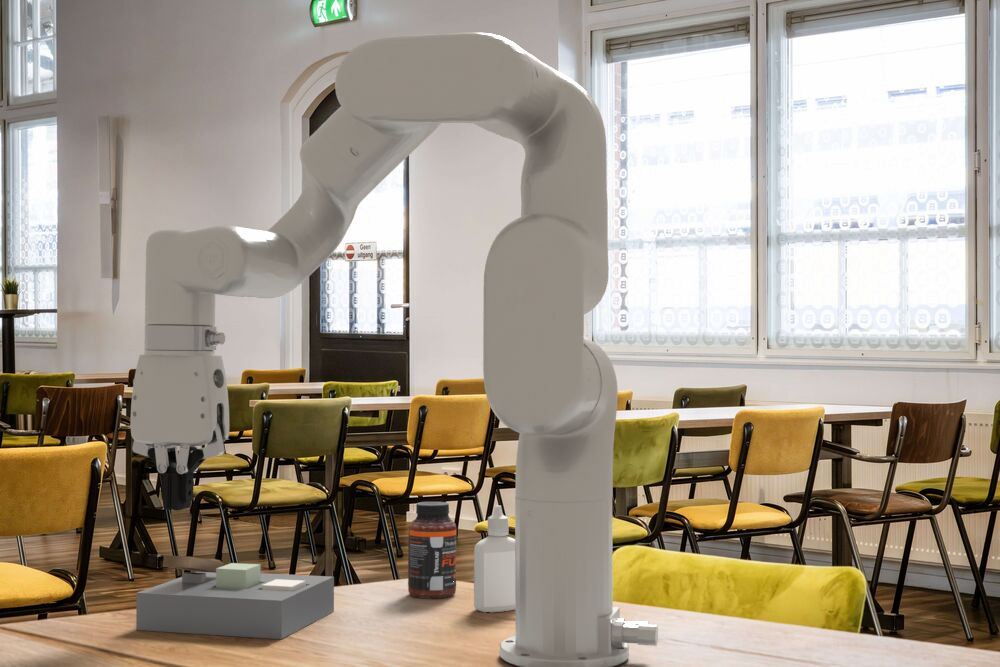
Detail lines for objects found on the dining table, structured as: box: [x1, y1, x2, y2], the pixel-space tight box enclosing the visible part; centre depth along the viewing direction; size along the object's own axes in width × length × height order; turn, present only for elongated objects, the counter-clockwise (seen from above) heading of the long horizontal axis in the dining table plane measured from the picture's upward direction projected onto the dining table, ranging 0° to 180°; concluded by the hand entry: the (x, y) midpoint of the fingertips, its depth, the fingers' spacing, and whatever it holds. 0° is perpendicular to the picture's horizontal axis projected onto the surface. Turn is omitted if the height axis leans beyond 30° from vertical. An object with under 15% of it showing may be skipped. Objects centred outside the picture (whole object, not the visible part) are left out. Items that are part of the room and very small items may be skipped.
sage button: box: [216, 562, 262, 589], centre depth 136 cm, size 4×4×3 cm
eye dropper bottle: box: [473, 504, 515, 613], centre depth 141 cm, size 4×6×12 cm
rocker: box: [162, 554, 225, 573], centre depth 137 cm, size 3×8×1 cm, turn 165°
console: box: [135, 571, 335, 640], centre depth 136 cm, size 17×14×5 cm
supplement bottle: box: [407, 501, 457, 599], centre depth 150 cm, size 6×6×11 cm
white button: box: [262, 579, 306, 592], centre depth 134 cm, size 4×4×3 cm
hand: (177, 508), depth 134 cm, fingers closed
